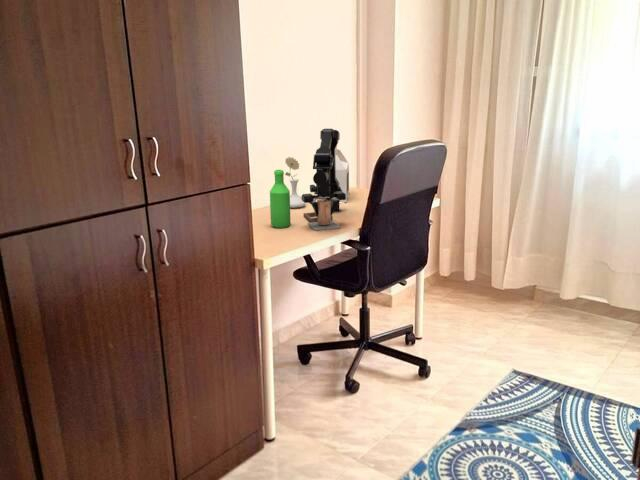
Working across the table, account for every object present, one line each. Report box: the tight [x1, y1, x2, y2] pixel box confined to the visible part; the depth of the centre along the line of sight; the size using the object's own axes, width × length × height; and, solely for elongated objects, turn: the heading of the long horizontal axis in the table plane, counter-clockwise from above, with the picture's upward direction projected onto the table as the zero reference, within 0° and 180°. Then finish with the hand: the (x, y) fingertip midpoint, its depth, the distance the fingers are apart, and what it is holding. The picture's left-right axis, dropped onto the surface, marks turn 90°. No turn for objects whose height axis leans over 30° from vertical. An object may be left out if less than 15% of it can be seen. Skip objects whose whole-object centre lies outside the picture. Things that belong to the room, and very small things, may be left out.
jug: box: [316, 199, 331, 225], centre depth 248 cm, size 10×6×10 cm, turn 16°
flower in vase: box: [284, 156, 307, 209], centre depth 284 cm, size 13×11×25 cm
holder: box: [303, 211, 334, 223], centre depth 263 cm, size 11×11×2 cm
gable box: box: [320, 145, 350, 203], centre depth 300 cm, size 22×13×28 cm, turn 174°
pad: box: [307, 220, 342, 232], centre depth 250 cm, size 12×12×1 cm
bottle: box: [269, 169, 292, 229], centre depth 248 cm, size 9×9×25 cm
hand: (323, 216), depth 249 cm, fingers open, 6 cm apart
